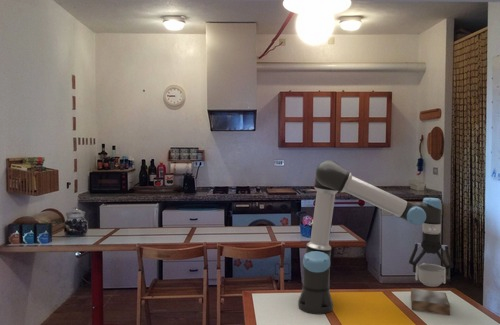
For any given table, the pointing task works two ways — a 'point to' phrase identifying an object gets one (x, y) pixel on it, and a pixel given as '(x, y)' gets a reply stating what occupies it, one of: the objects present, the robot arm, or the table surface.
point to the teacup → (431, 274)
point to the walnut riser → (430, 301)
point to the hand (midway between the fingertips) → (430, 281)
